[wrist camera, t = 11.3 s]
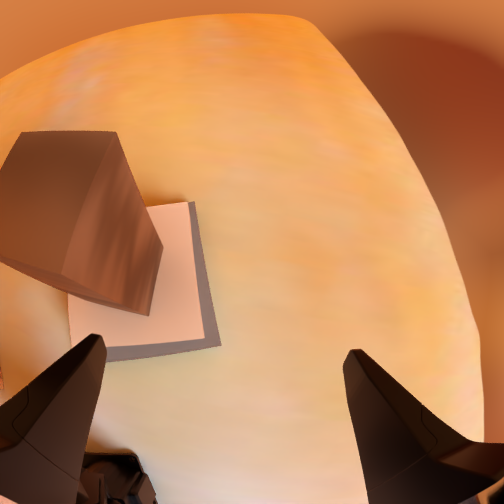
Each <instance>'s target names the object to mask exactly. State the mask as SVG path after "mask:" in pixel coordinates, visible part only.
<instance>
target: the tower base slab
mask: <svg viewBox="0 0 504 504" xmlns="http://www.w3.org/2000/svg"><path fill="white" fill-rule="evenodd" d="M188 207H189V213H190V222H191V233H192V243H193V252H194V261H195V270H196V278H197V286H198V294H199V302H200V309H201V316H202V323H203V330H204V336H205V338H203V339H195V340H186V341H177V342H167V343H156V344H144V345H130V346H113V347H106V349H107V358H106V362H114V361H124V360H132V359H141V358H149V357H156V356H163V355H170V354H176V353H182V352H189V351H194V350H200V349H206V348H211V347H216V346H222V345H221V341H220V336H219V332H218V327H217V322H216V317H215V313H214V308H213V303H212V298H211V293H210V288H209V282H208V277H207V272H206V266H205V261H204V255H203V250H202V244H201V238H200V232H199V226H198V220H197V214H196V207H195V201H194V202H188Z"/></svg>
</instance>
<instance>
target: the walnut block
mask: <svg viewBox="0 0 504 504" xmlns="http://www.w3.org/2000/svg"><path fill="white" fill-rule="evenodd" d="M163 248H164V247H163V244H162V242H161V240H160V238H159V236H158V234H157V231H156V229H155V227H154V225H153V223H152V220H151V218H150V216H149V213H148V211H147V209H146V207H145V204H144V202H143V199H142V197H141V195H140V192H139V190H138V188H137V185H136V183H135V180H134V178H133V175H132V173H131V170H130V168H129V165H128V162H127V160H126V157H125V155H124V152H123V149H122V147H121V144H120V141H119V138H118V136H117V133H116V132H108V131H38V132H21V134H20V136H19V137H18V139H17V141H16V142H15V144H14V146H13V147H12V149H11V151H10V153H9V155H8V156H7V158H6V160H5V162H4V164H3V166H2V168H1V170H0V262H2V263H4V264H6V265H8V266H10V267H12V268H14V269H16V270H18V271H20V272H22V273H24V274H26V275H28V276H30V277H32V278H34V279H37V280H39V281H41V282H43V283H45V284H48V285H50V286H52V287H54V288H57V289H59V290H61V291H64V292H66V293H68V294H71V295H73V296H76V297H78V298H81V299H83V300H86V301H89V302H93V303H96V304H100V305H104V306H108V307H111V308H115V309H119V310H123V311H127V312H132V313H136V314H140V315H144V316H149V313H150V308H151V303H152V298H153V293H154V288H155V283H156V279H157V274H158V270H159V265H160V261H161V257H162V253H163Z"/></svg>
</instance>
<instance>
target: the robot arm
mask: <svg viewBox="0 0 504 504" xmlns="http://www.w3.org/2000/svg"><path fill="white" fill-rule="evenodd" d="M106 358H107V349H106V346H105V343H104V340H103V337H102V336H101V335H100V334H94V333H91V334H89V335H88V336H87V337H85V338H84V339H83V340H82V341H80V342H79V343H78V344H77V345H75V346H74V347H73V348H72V349H70V350H69V351H68V352H67V353H65V354H64V355H63V356H62V357H61V358H59V359H58V360H57V361H56V362H54V363H53V364H52V365H51V366H50V367H48V368H47V369H46V370H45V371H43V372H42V373H41V374H40V375H39V376H37V377H36V378H35V379H34V380H33V381H31V382H30V383H29V384H28V385H27V386H25V387H24V388H23V389H22V390H21V391H20V392H18V393H17V394H16V395H15V396H13V397H12V398H11V399H9V400H8V401H7V402H5V403H4V404H2V405H1V406H0V504H158V503H157V501H156V498H155V496H156V493H155V491H154V489H153V487H152V484H151V482H150V480H149V477H148V475H147V474H146V473H144V471H143V468H142V466H141V463H140V461H139V458H138V456H137V455H135V454H132V453H127V454H112V453H86V452H85V447H86V443H87V439H88V435H89V430H90V426H91V423H92V419H93V415H94V411H95V408H96V404H97V400H98V397H99V393H100V389H101V384H102V379H103V373H104V368H105V363H106ZM343 373H344V381H345V388H346V396H347V403H348V407H349V411H350V416H351V420H352V424H353V428H354V432H355V437H356V441H357V446H358V450H359V455H360V460H361V464H362V469H363V474H364V479H365V485H366V490H367V496H368V502H369V504H504V443H483V442H474V441H471V440H469V439H467V438H465V437H463V436H462V435H461V434H459V433H458V432H457V431H455V430H454V429H452V428H451V427H450V426H448V425H447V424H446V423H444V422H443V421H442V420H440V419H439V418H438V417H437V416H435V415H434V414H433V413H432V412H431V411H430V410H428V409H427V408H426V407H425V406H424V405H422V403H421V402H419V401H418V400H417V399H416V398H415V397H414V396H413V395H412V394H411V393H409V392H408V391H407V390H406V389H405V388H404V387H403V386H402V385H401V384H400V383H398V382H397V381H396V380H395V379H394V378H393V377H392V376H391V375H390V374H388V373H387V372H386V371H385V370H384V369H383V368H382V367H381V366H380V365H378V364H377V363H376V362H375V361H374V360H373V359H372V358H371V357H370V356H368V355H367V354H366V353H365V352H364V351H363V350H361V349H352V350H350V351H349V353H348V355H347V357H346V359H345V361H344V363H343ZM131 457H132V458H134V459H135V460H132V459H131Z"/></svg>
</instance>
